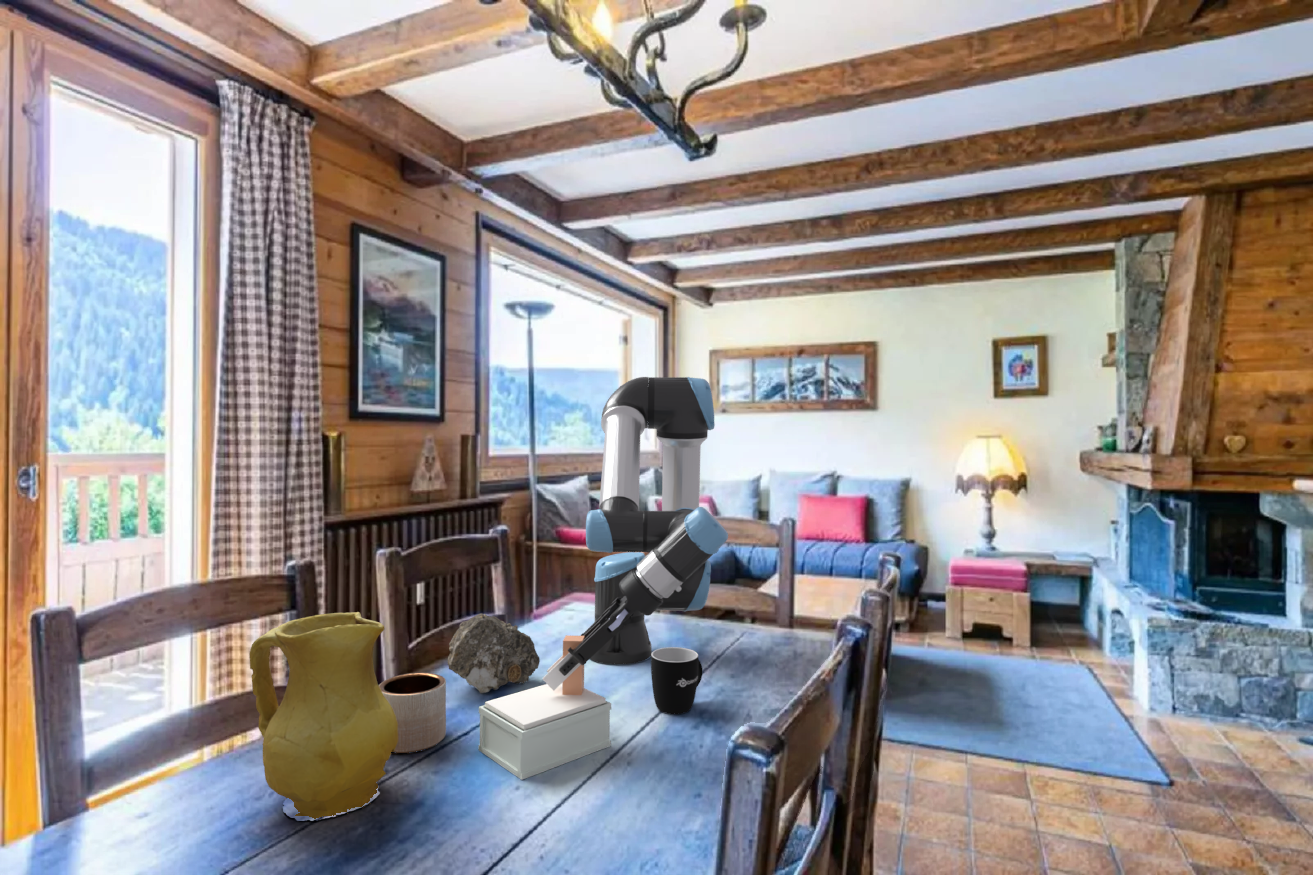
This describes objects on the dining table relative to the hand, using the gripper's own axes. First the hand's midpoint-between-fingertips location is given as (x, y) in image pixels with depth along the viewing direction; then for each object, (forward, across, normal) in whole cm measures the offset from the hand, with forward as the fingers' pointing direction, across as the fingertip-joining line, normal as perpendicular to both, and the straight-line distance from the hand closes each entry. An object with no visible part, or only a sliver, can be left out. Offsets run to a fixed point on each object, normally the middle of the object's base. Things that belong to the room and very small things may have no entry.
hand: (550, 680), depth 117 cm
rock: (+19, +25, +4) cm, 32 cm away
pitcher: (+26, -20, +13) cm, 36 cm away
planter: (+23, -3, +9) cm, 25 cm away
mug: (-8, +15, -23) cm, 28 cm away
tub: (+7, -4, -7) cm, 10 cm away
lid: (+2, -4, -2) cm, 5 cm away
